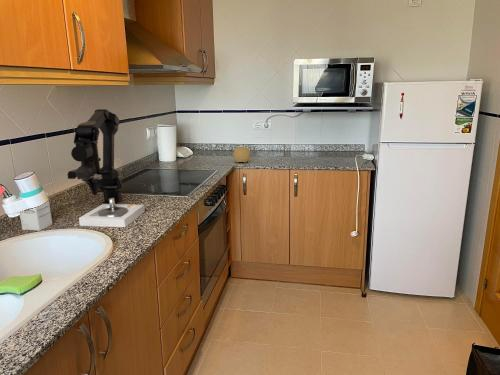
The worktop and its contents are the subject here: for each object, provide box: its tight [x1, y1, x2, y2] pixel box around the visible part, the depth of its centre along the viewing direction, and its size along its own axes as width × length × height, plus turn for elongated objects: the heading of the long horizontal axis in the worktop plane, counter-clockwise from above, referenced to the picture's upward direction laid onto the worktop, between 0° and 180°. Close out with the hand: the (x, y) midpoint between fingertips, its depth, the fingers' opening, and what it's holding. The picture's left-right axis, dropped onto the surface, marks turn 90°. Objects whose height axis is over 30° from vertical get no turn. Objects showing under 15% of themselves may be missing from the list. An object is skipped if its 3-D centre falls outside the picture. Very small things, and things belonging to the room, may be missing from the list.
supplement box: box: [19, 192, 53, 232], centre depth 139 cm, size 7×7×13 cm
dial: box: [98, 198, 128, 217], centre depth 148 cm, size 11×11×6 cm
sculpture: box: [233, 146, 251, 163], centre depth 257 cm, size 12×12×11 cm
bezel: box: [78, 203, 146, 228], centre depth 149 cm, size 18×18×3 cm
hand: (95, 195), depth 152 cm, fingers closed
